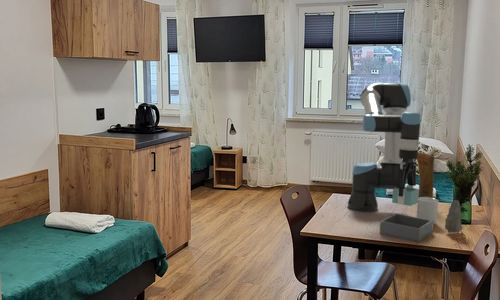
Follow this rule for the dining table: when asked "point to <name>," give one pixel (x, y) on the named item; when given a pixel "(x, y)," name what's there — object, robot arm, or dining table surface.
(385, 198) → the dining table surface
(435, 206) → the mug
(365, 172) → the robot arm
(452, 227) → the stone tool
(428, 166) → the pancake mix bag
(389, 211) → the dining table surface
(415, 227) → the grey crate
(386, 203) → the dining table surface
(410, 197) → the block
